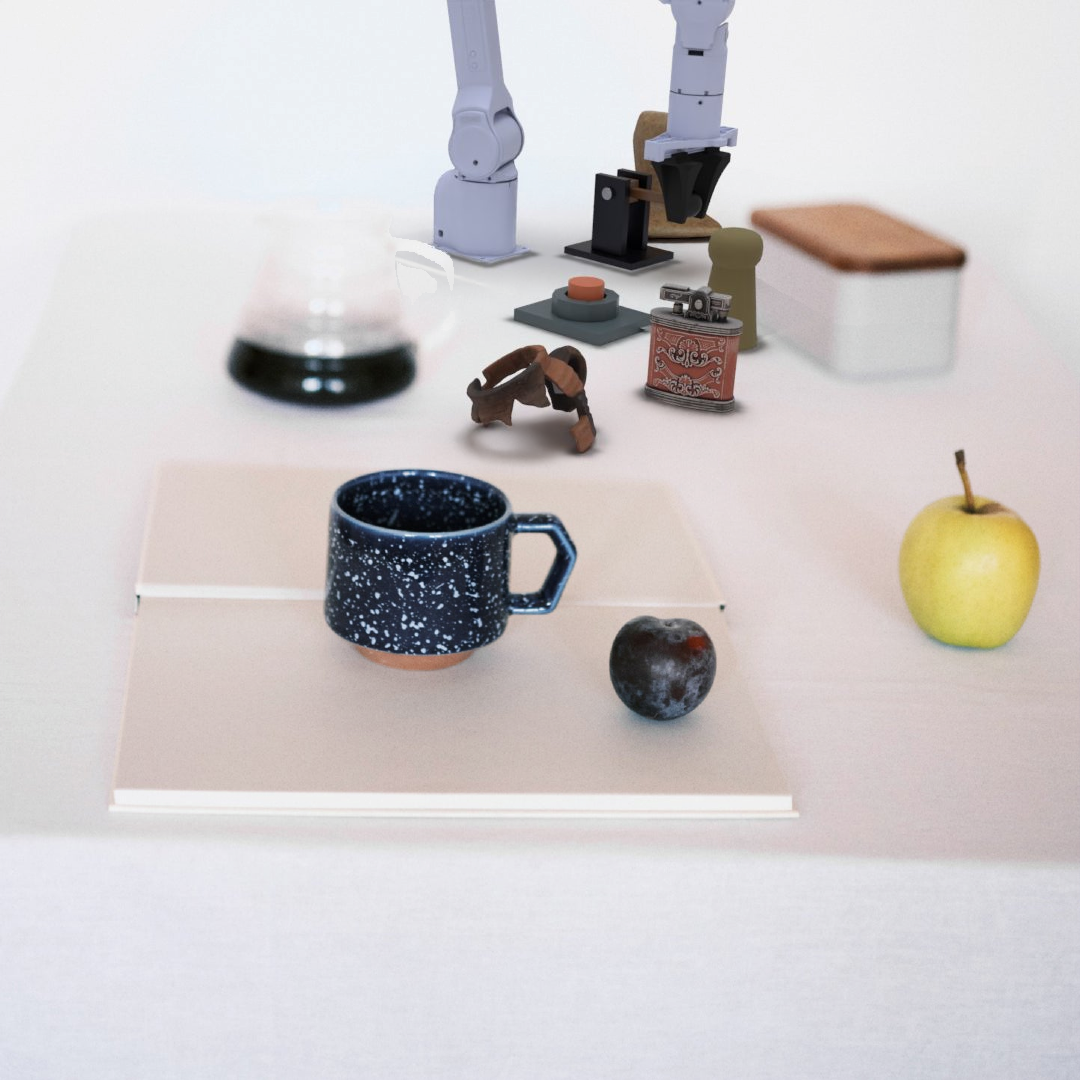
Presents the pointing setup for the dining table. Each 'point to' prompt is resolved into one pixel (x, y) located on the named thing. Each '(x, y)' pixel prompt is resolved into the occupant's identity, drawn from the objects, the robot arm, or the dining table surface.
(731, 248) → the cork
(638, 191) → the lever
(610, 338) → the button block
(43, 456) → the dining table surface
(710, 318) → the lighter
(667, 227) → the tan piece
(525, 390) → the brown curved pieces
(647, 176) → the bracket
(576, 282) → the button
